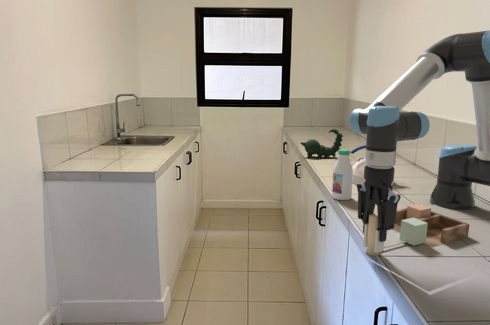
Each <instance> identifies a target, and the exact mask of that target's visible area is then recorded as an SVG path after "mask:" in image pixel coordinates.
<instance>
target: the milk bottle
mask: <svg viewBox="0 0 490 325" xmlns="http://www.w3.org/2000/svg"><path fill="white" fill-rule="evenodd" d="M350 152H351V150H350V149H345V148H340V150H338V151H337V155H338V157H337V160H336V162H335V164H334V168H333V172H332V187H331V188H332V190H331V197H332V198H333V199H335V200H338V201H349V200H351V199H352V196H353V195H352V193H353V192H352V191H353V183H352V179H353V169H352V167H353V165H352V163H351V160H350V156H351V153H350Z"/></svg>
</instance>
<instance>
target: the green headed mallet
mask: <svg viewBox="0 0 490 325" xmlns="http://www.w3.org/2000/svg"><path fill="white" fill-rule="evenodd" d="M427 226H428V223H426V222H424V221H421V220H418V219H416V218H409V219H405V220H401V229H400V233H399V240H401V241H399V242H395V243H390V244H388V245H384V249H387V248H391V247H395V246H399V245H403V244H406V243H407V244H409V245H411V246H419V245H422V244H424V243H426V235H427ZM377 228H378V213H373V214H370V215H369V225H368V238H367V247H366V254H367V255H369V256H371V257H376V256H379V255H380V253H381V252H378V253H375V252H374V247H375V233H376V229H377Z"/></svg>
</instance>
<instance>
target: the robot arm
mask: <svg viewBox="0 0 490 325" xmlns="http://www.w3.org/2000/svg"><path fill="white" fill-rule="evenodd" d="M453 72H464V76H465V81H466V82H468V83H470V84H471V88H472V89H471V90H472V97H473V106H474V116H475V117H474V118H475V125H476V128H475V129H476V136H477V137H476V138H477V146H478V147H477V146H476V145H475V144H452V145H451V144H450V145H445V146H443V147H442V148H441V149H440V153H439V156H438V169H437V180H436V184H435V186H434V188H433V190H432V192H431V194H430V197H429V202H430V204H431V205H433V206H434V205H435V206H438V207H440V208H445V209H450V210H460V211H462V210H471V209H474V208H475V204H476V200H475V197H474V196H475V195H474V192H473V189H472V185H473V183H474V184H478V185H483V186H487V187H490V29H489V30H483V31H482V30H481V31H474V32H467V33H456V34H455V33H454V34H452V35H448V36H447V37H445V38H443V39H441V40H439V41H437V42H436V43H434V44H432V45H431V46H430V47H428V48H427V49H425V50H423V52H422V53H421V54H420V55H419V56H418V57H417V59H416V62H415V63H414V64H413V65H412V66H411V67H409V69H408V70H406V72H404V73H403V74H402V75H401V76H400V77H399V78H398V79H397V80H395V81H394V82H393V83H392V85H389V87H388V88H387V89H386V90H385V91H383V92H382V93H381V94H380V95H379V96H378V97H377V98H375V100H373V102H371V104H369V105H368V106H367V107H366V108H364V107H360V108H355V109H353V111H352V112H351V114H350V115H349V118H348V119H349V120H348V122H349V123H348V124H349V126H350V129H351V131H353V132H354V133H358V134H361V135H366V137H365V138H366V140H365V141H366V142H365V145H366V148H365V153H364V154H365V156H364V158H365V163H366V164H367V165H365V167H364V179H365V182H364V183H363V184H357V185H356V188H357V189H356V190H357V218H358V219H359V220H361V221H362V224H363V225H362V233H363V243H362V244H363V246H362V247H364V248H367V238H368V225H369V215H370V214H375V208H376V207H377V210H376V211H377V212H376V213H377V214H378V228H377V229H376V233H375V247H374V252H375V253H378V252H380V253H381V252H384V250H385V248H384V246H385V242H386V241H387V235H388V234H387V233H388V231H390V230H391V231H392V229H394V225H395V219H396V212H397V210H398V203H399V202H400V200H401V195H400V194H396V193H395V192H394V191H393V187H392V186H393V185H392V186H391V184H392V182H394V180H395V171H396V170H395V167H394V166H395V165H396V162H395V160H396V159H397V158H396V157H397V156H396V155H397V143H398V142H404V141H415V140H419V139H421V138H424V137H425V136H426V135H427V134H428V132H429V130H430V127H431V126H430V123H431V122H430V120H429V117H428V116H427V115H426V113H424V112H421V111H413V110H411V111H401V110H403V109H404V108H405V107H406V106H407V105H408V104H409V103H410V102H411V101H412V100H413V99H414V98H415V97H416V96H417V95H419V94H420V92H421V91H423V90H424V89H425V88H426V87H427V86H428V85H429V84H430V83H431V82H432V81H433V80H437V79H440V78H441V77H442V76H443V75H445V74H447V73H453Z"/></svg>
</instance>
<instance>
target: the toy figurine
mask: <svg viewBox="0 0 490 325" xmlns="http://www.w3.org/2000/svg"><path fill="white" fill-rule="evenodd" d="M328 133H329V134H330V133H333V134H335V135H336V137H335V138H334V139H335V140H334V142H333V144H332V145H331V147H328V146H325V145H322V144H320V142H319V141H318V140H316V139H309V140H307V141H306V142H300V145H301V146H303V147H304V151H305V152H306V153H307V154H306V155H307V157H308V158H312V157H313V156H314V155H315V156H317V157H318V158H322V157H325V159H329V157H331V156H332V157H336V156H337V155H336V153H338V150H340V149H341V148H340V147H342V142H343V139H342V138H343V137H344V136H343V134H342V132H339V131H338V130H337V129H335V128H331V129H330V130H329V131H328Z"/></svg>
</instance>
